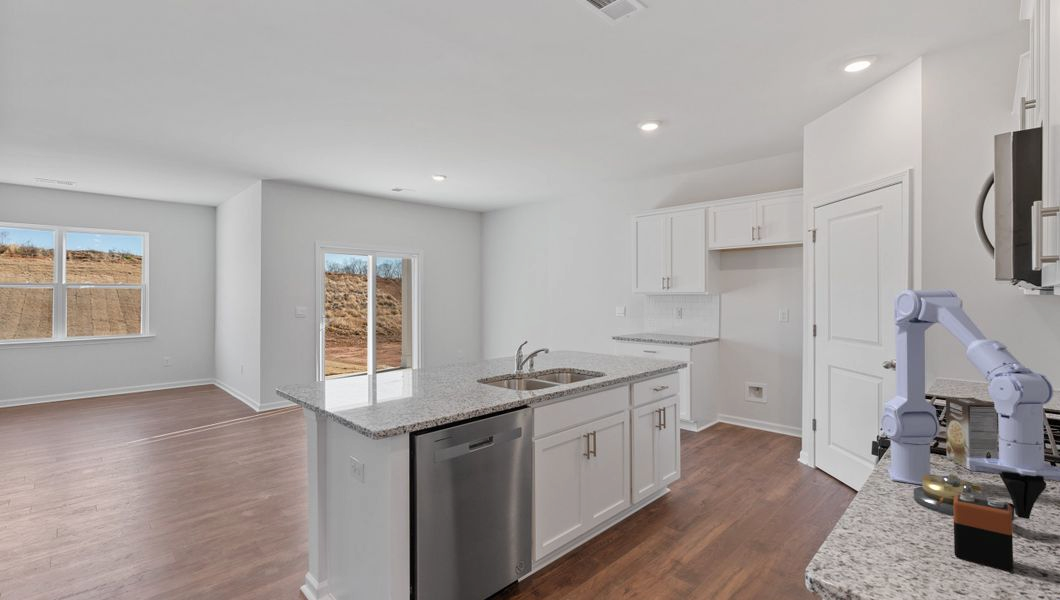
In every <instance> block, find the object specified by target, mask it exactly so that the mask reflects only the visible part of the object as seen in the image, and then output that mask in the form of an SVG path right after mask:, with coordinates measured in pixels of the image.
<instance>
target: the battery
mask: <svg viewBox="0 0 1060 600" xmlns="http://www.w3.org/2000/svg"><path fill="white" fill-rule="evenodd" d="M1004 502H1005V500H1004V499H1000V498H997V497H990V496H988V497H987V500H984V499H978V498H973V496H972V495H970V494H965V493H962V494H961V495H955V497H954V502H953V510H954V516H953V542H954V543H953V546H954V553H953V554H954V556H955V557H956V558H957V559H958V558H959V559H961V560H965V561H969V562H973V563H977V564H980V565H984V566H988V567H992V568H995V569H999V570H1003V571H1007V572H1012V571H1014V550H1013V549H1014V547H1013V546H1014V545H1013V543H1014V542H1013V541H1014V540H1013V521H1012V509H1011V506H1010V505H1008V504H1004Z"/></svg>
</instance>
